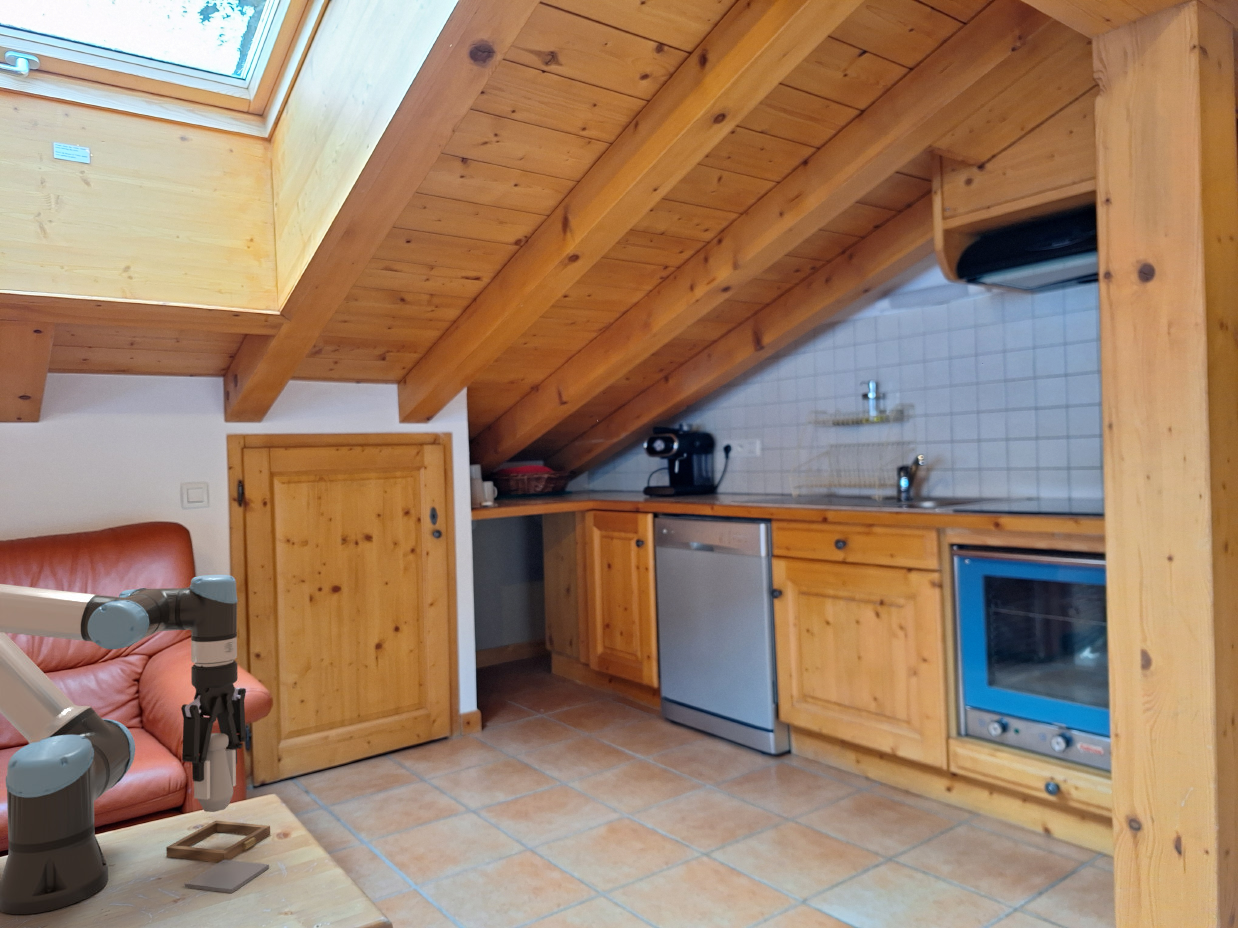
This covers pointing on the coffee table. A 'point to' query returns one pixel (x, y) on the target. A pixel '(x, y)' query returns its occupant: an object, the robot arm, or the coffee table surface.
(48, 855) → the robot arm
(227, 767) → the salt shaker
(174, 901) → the coffee table surface
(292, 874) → the coffee table surface
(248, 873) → the coaster
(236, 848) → the brown wooden frame
